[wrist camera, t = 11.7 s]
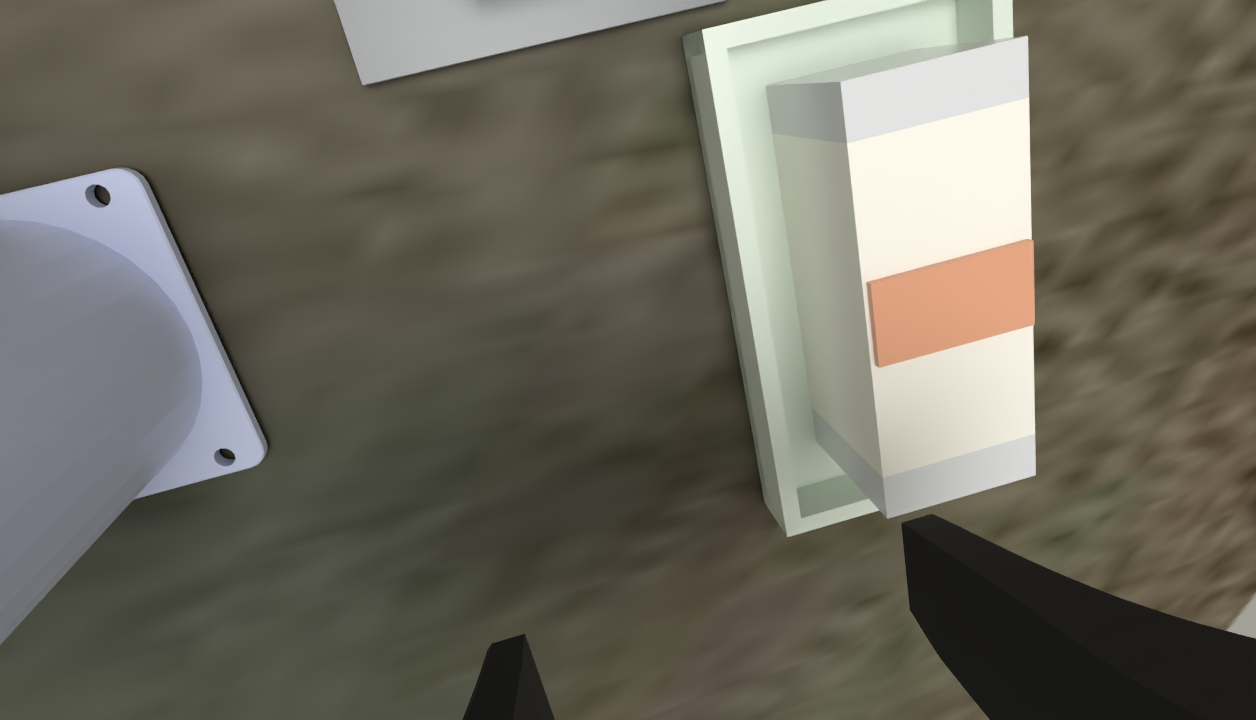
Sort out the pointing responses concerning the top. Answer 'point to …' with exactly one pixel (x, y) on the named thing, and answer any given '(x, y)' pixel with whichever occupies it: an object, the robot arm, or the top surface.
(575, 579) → the top surface
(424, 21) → the board
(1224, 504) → the top surface
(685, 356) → the top surface
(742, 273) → the tray
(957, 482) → the fuse
